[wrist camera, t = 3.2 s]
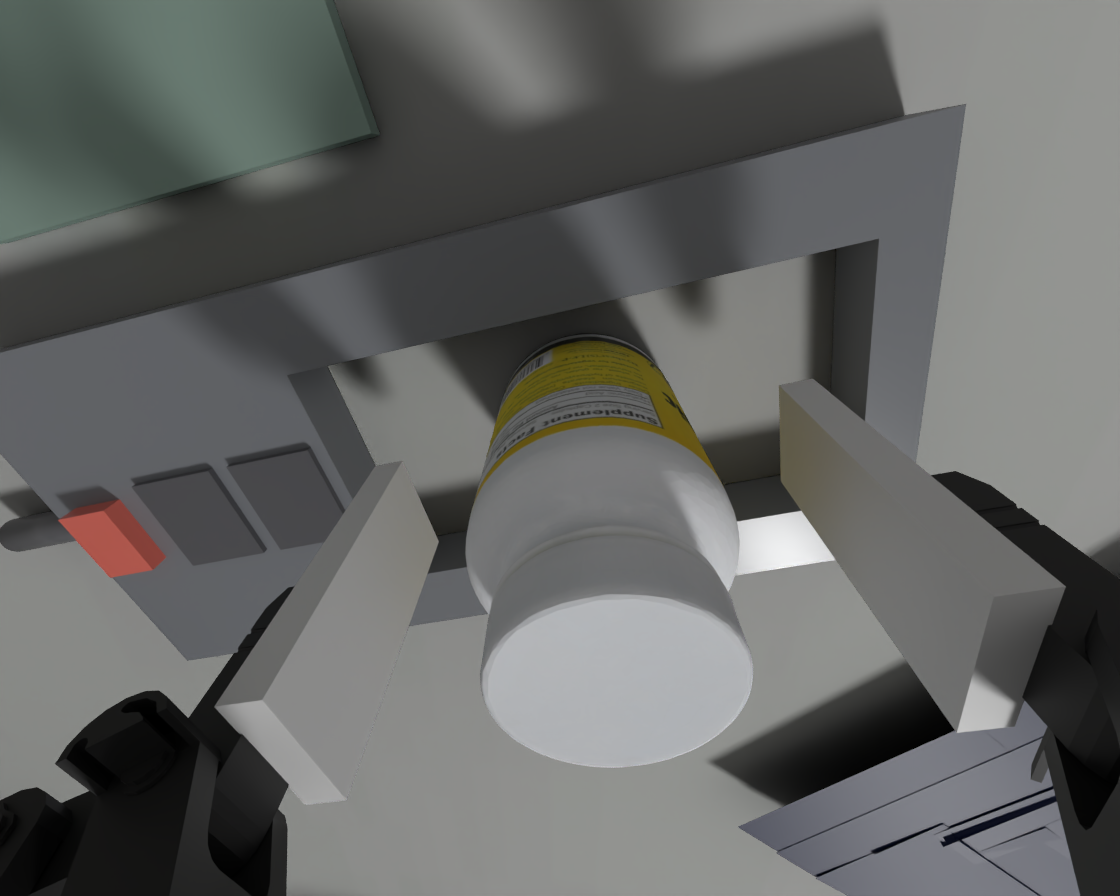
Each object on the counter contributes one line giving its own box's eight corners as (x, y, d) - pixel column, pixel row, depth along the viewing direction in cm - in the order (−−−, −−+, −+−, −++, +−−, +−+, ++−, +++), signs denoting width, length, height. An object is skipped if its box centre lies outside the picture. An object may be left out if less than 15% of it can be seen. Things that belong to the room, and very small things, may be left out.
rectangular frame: (137, 633, 21) (85, 688, 19) (-104, 376, 15) (-221, 410, 13) (869, 511, 17) (915, 562, 15) (906, 115, 12) (988, 99, 9)
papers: (1006, 940, 35) (1049, 1017, 31) (719, 771, 27) (738, 850, 23) (1465, 807, 25) (1594, 897, 22) (1238, 487, 17) (1387, 554, 14)
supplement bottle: (667, 480, 17) (771, 793, 8) (511, 485, 17) (454, 796, 8) (678, 323, 14) (846, 545, 6) (493, 332, 14) (385, 558, 6)
